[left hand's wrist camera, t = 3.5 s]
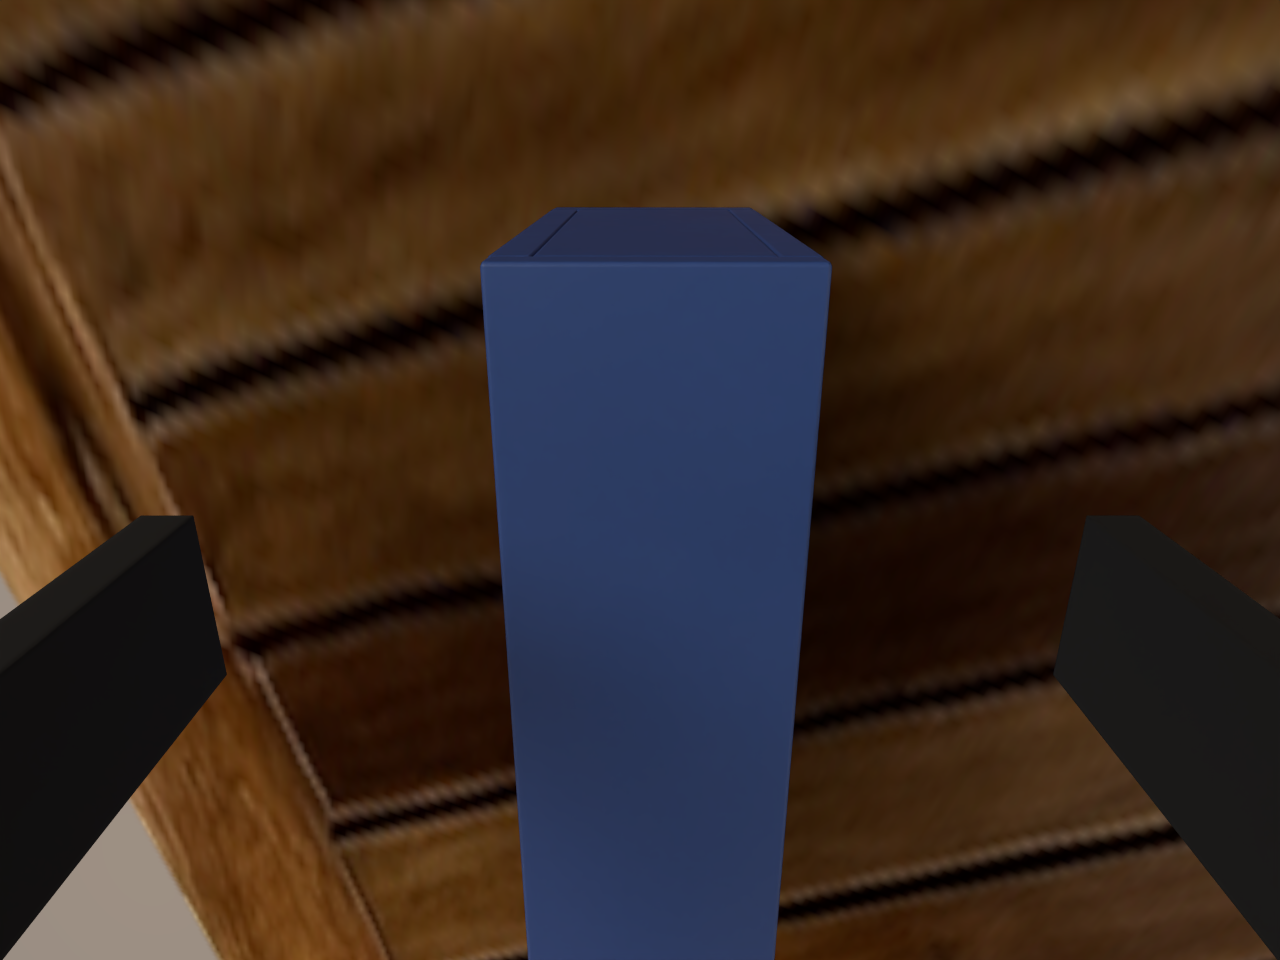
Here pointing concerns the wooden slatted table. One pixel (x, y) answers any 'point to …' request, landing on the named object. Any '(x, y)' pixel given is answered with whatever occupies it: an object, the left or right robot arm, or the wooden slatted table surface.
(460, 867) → the wooden slatted table surface
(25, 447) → the wooden slatted table surface
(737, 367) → the cabinet
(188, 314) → the wooden slatted table surface
